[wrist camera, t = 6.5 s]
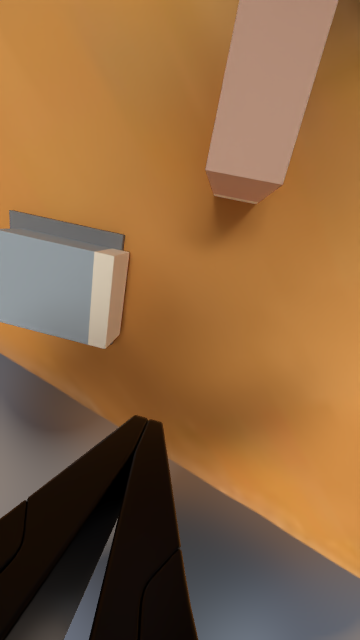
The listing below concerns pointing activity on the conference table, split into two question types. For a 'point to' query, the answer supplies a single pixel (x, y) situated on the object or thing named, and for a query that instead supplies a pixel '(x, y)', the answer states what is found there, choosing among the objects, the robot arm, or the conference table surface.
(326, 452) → the conference table surface
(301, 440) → the conference table surface
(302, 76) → the terracotta block
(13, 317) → the blue-grey block
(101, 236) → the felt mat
